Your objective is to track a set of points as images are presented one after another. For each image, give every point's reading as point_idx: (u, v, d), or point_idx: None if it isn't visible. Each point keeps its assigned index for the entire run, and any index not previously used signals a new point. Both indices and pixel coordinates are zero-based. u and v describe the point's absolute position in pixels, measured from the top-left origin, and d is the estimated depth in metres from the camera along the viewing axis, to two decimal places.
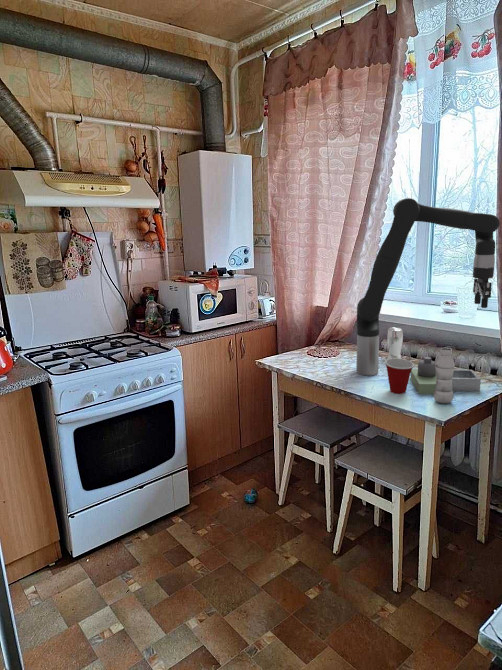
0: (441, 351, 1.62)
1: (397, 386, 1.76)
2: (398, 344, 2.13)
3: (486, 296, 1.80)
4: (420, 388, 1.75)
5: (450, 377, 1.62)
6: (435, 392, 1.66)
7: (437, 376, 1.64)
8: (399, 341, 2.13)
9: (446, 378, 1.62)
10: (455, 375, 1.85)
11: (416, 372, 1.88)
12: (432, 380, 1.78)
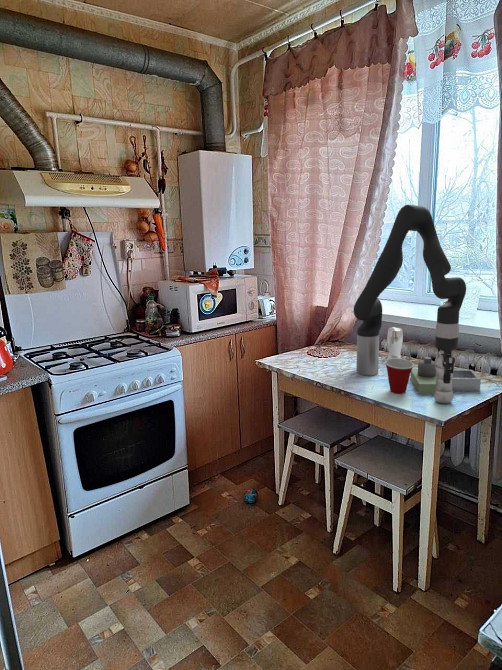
0: (441, 351, 1.62)
1: (397, 386, 1.76)
2: (398, 344, 2.13)
3: (448, 372, 1.58)
4: (420, 388, 1.75)
5: None
6: (435, 392, 1.66)
7: (437, 376, 1.64)
8: (399, 341, 2.13)
9: None
10: (455, 375, 1.85)
11: (416, 372, 1.88)
12: (432, 380, 1.78)
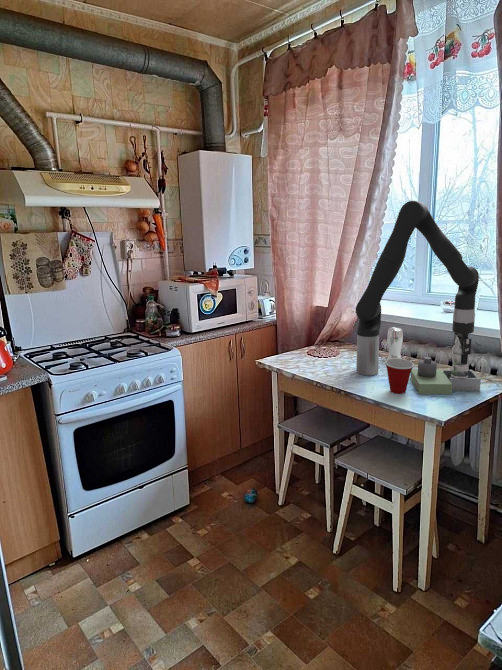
0: (457, 338, 1.77)
1: (397, 386, 1.76)
2: (398, 344, 2.13)
3: (466, 353, 1.71)
4: (420, 388, 1.75)
5: None
6: (452, 376, 1.80)
7: (454, 362, 1.79)
8: (399, 341, 2.13)
9: None
10: None
11: (416, 372, 1.88)
12: (432, 380, 1.78)
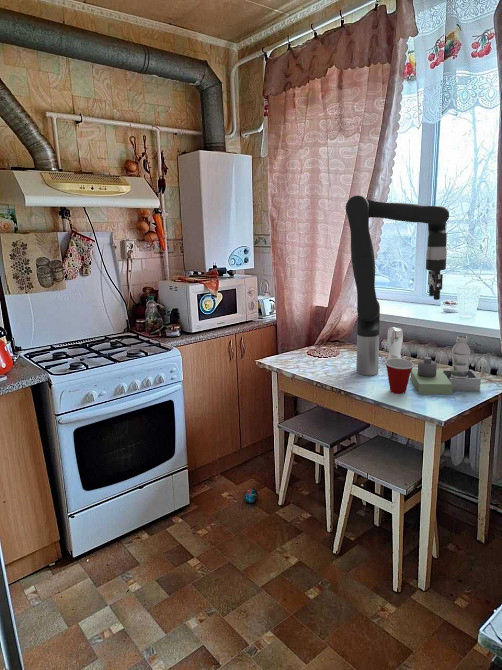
0: (458, 339, 1.76)
1: (397, 386, 1.76)
2: (398, 344, 2.13)
3: (437, 288, 1.80)
4: (420, 388, 1.75)
5: (466, 362, 1.77)
6: (452, 376, 1.80)
7: (454, 362, 1.79)
8: (399, 341, 2.13)
9: (462, 363, 1.77)
10: None
11: (416, 372, 1.88)
12: (432, 380, 1.78)
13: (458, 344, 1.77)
